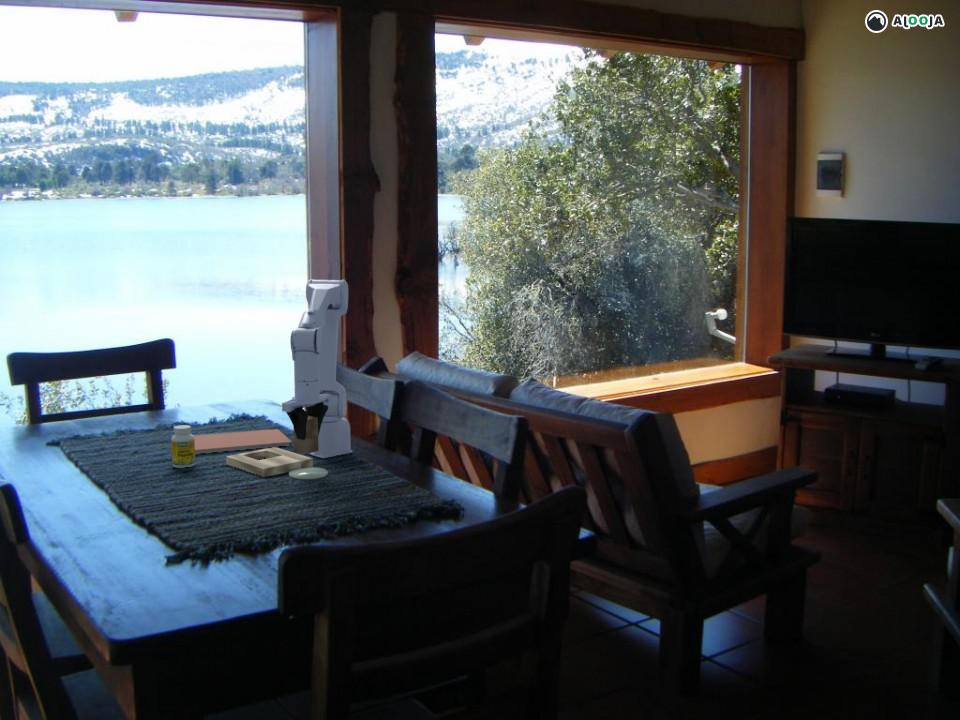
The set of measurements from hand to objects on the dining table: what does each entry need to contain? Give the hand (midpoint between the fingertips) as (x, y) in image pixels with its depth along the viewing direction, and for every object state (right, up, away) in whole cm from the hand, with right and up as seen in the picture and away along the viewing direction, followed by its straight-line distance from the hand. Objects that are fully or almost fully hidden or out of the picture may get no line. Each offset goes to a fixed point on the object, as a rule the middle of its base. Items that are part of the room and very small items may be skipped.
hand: (307, 437), depth 244 cm
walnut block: (0, -3, +1) cm, 3 cm away
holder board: (-11, -8, +9) cm, 16 cm away
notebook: (-25, -5, +31) cm, 40 cm away
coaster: (0, -9, +1) cm, 9 cm away
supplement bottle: (-31, -8, +8) cm, 33 cm away
